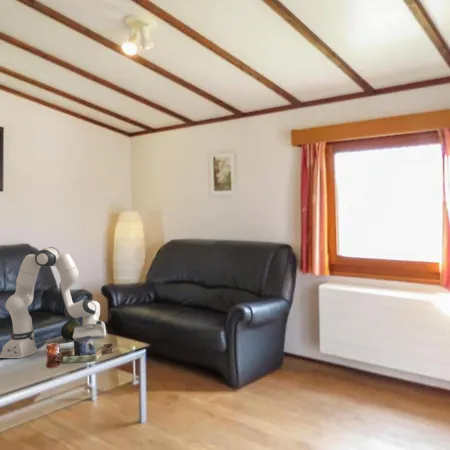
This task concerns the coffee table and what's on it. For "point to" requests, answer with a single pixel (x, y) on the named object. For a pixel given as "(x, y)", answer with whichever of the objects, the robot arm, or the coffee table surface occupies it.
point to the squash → (69, 329)
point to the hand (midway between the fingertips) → (88, 345)
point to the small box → (84, 346)
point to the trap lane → (107, 349)
